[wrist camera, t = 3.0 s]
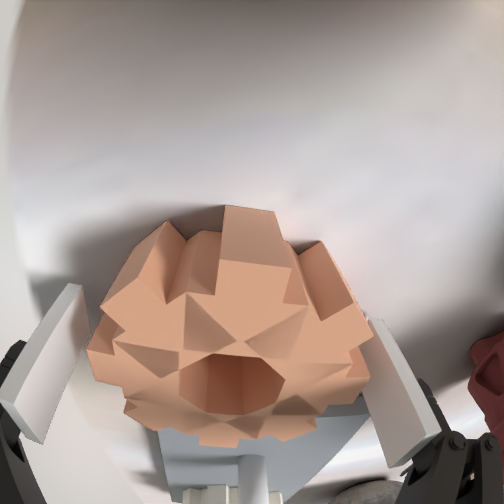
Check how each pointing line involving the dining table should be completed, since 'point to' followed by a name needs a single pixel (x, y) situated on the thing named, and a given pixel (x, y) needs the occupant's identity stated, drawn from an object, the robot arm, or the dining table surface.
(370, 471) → the dining table surface
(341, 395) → the gear
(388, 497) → the bowl
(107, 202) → the dining table surface
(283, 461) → the gear board
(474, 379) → the mechanical component
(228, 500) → the gear
